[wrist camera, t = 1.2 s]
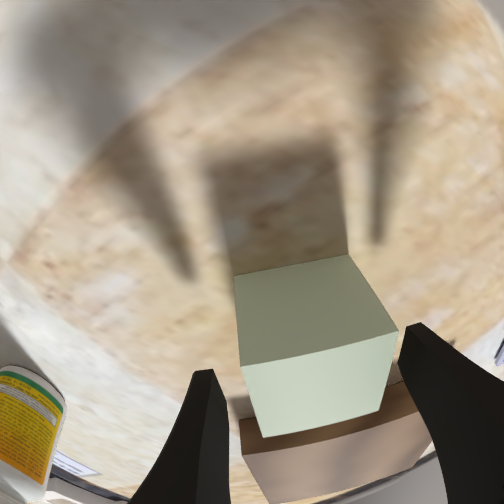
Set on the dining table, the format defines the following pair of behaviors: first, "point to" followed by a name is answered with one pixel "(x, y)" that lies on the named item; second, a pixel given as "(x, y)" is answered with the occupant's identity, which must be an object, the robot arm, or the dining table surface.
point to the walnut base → (337, 450)
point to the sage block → (312, 344)
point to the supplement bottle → (27, 434)
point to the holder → (72, 494)
